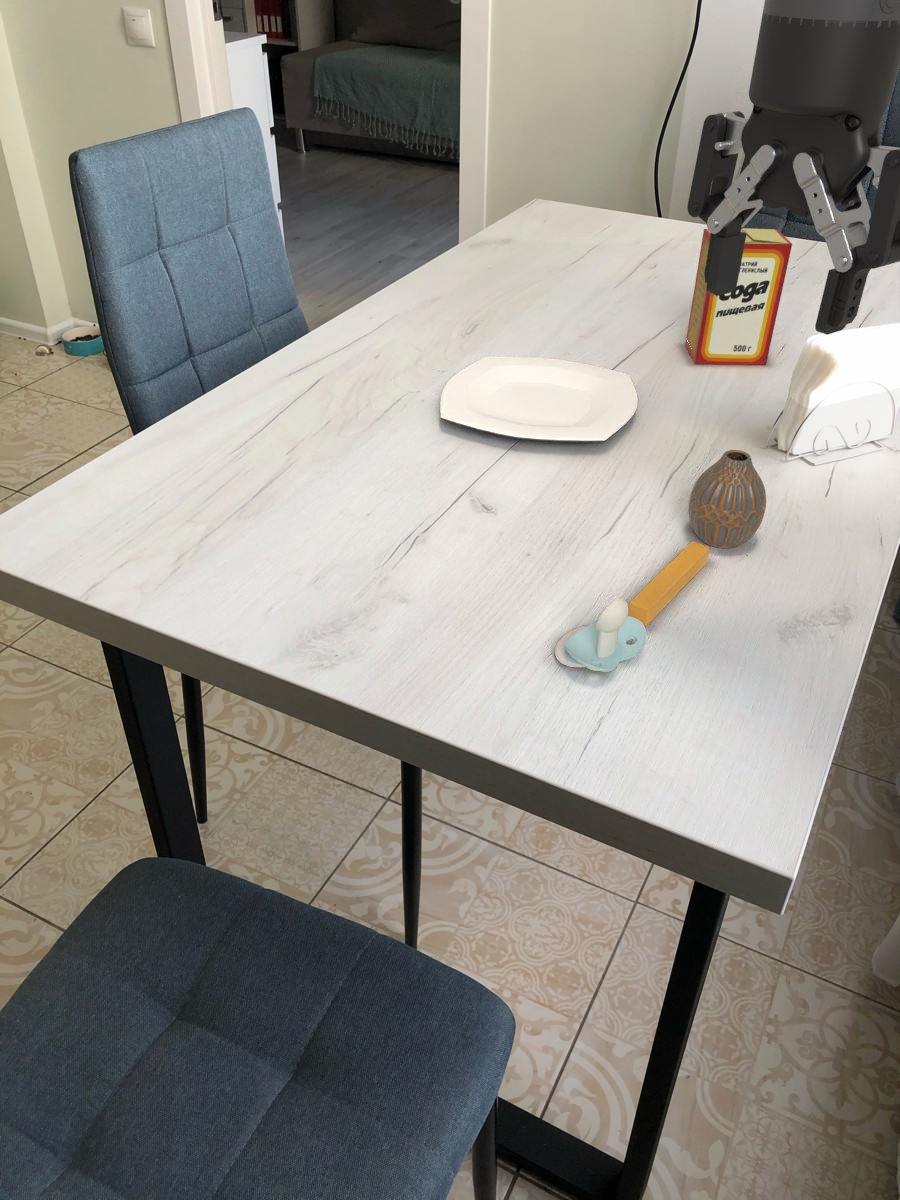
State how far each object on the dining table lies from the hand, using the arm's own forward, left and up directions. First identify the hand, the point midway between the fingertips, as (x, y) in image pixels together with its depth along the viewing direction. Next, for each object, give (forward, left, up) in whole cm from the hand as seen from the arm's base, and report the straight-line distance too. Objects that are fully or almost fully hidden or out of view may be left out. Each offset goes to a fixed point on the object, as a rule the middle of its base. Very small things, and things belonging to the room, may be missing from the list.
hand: (772, 310), depth 59 cm
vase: (+11, -15, -28) cm, 34 cm away
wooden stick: (+8, -5, -28) cm, 29 cm away
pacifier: (+5, +7, -28) cm, 30 cm away
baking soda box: (+42, -51, -28) cm, 72 cm away
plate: (+43, -19, -28) cm, 55 cm away
